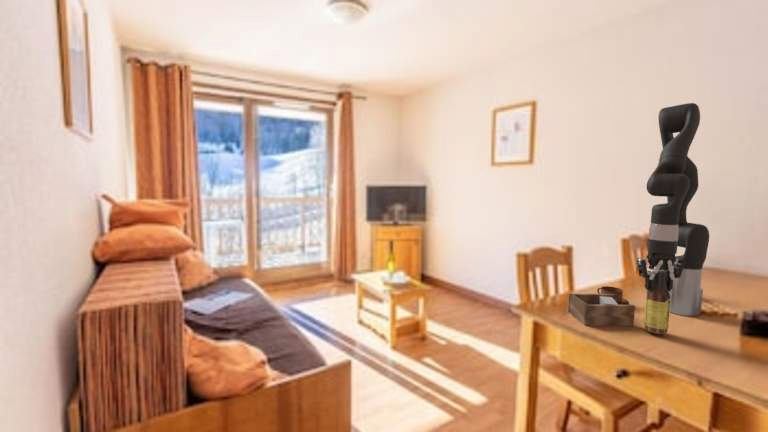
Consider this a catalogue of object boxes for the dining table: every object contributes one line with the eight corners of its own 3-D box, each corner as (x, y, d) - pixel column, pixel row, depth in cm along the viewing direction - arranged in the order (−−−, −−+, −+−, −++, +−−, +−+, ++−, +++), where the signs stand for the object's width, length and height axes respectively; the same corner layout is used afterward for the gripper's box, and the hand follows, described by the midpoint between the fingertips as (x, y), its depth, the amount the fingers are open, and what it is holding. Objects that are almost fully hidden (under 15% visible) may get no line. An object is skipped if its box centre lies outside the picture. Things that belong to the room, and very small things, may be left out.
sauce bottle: (671, 336, 120) (677, 274, 117) (649, 334, 121) (654, 273, 118) (661, 327, 126) (666, 268, 124) (640, 326, 127) (644, 267, 125)
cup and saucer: (588, 303, 151) (589, 288, 150) (600, 297, 159) (601, 282, 158) (622, 312, 142) (623, 296, 141) (633, 305, 150) (634, 289, 149)
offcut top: (611, 306, 138) (612, 297, 138) (617, 314, 131) (618, 304, 130) (598, 305, 139) (599, 296, 139) (604, 313, 132) (605, 303, 131)
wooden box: (612, 312, 142) (613, 293, 141) (633, 325, 129) (635, 305, 128) (568, 311, 142) (569, 293, 141) (585, 325, 130) (586, 305, 129)
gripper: (677, 235, 123) (672, 286, 125) (632, 235, 124) (628, 286, 126) (695, 240, 116) (690, 294, 118) (647, 240, 116) (643, 294, 118)
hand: (658, 290), depth 122 cm, fingers closed on sauce bottle, 5 cm apart
